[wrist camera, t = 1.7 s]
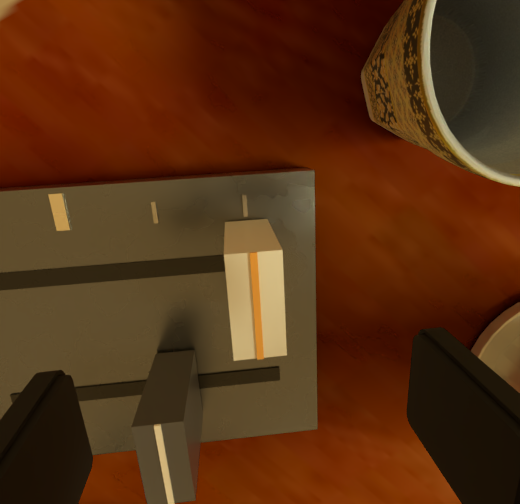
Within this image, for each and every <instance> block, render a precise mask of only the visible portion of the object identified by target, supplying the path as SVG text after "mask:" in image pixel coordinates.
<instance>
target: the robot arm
mask: <svg viewBox="0 0 520 504" xmlns="http://www.w3.org/2000/svg"><path fill="white" fill-rule="evenodd" d="M407 418H408V421H409V424H410V425H411V427H412V429H413V430H414V432H415V433H416V435H417V436H418V438H419V439H420V441H421V442H422V444H423V445H424V447H425V448H426V450H427V451H428V453H429V454H430V456H431V457H432V459H433V461H434V462H435V464H436V465H437V467H438V468H439V470H440V471H441V473H442V474H443V476H444V477H445V479H446V480H447V482H448V483H449V485H450V486H451V488H452V489H453V491H454V492H455V494H456V495H457V497H458V498H459V500H460V501H461V503H462V504H520V302H518V303H516V304H515V305H513V306H512V307H510V308H509V309H507V310H506V311H504V312H503V313H502V314H500V315H499V316H498V317H497V318H496V319H495V320H494V321H492V322H491V323H490V324H489V326H488V327H487V328H486V329H485V330H484V331H483V333H482V334H481V335H480V336H479V338H478V340H477V341H476V343H475V344H474V346H473V348H472V349H471V351H470V350H469V349H468V348H466V347H465V346H464V345H463V344H462V343H461V342H459V341H458V340H457V339H456V338H455V337H454V336H452V335H451V334H450V333H449V332H448V331H447V330H445V329H444V328H441V327H439V328H430V329H422V330H420V331H419V333H418V335H416V336H414V338H413V347H412V358H411V369H410V380H409V391H408V403H407ZM92 461H93V455H92V450H91V446H90V443H89V439H88V435H87V431H86V428H85V424H84V420H83V416H82V413H81V409H80V405H79V401H78V397H77V394H76V390H75V386H74V382H73V379H72V377H71V375H65V373H64V371H62V370H55V371H46V372H39V373H36V374H35V375H34V376H33V377H32V379H31V380H30V381H29V383H28V384H27V385H26V387H25V388H24V389H23V391H22V392H21V393H20V395H19V396H18V397H17V398H16V400H15V401H14V402H13V404H12V405H11V406H10V408H9V409H8V410H7V412H6V413H5V414H4V415H3V417H2V418H1V419H0V504H78V502H79V500H80V497H81V494H82V492H83V489H84V487H85V484H86V481H87V479H88V476H89V473H90V471H91V468H92Z"/></svg>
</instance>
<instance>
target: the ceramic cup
mask: <svg viewBox="0 0 520 504" xmlns="http://www.w3.org/2000/svg"><path fill="white" fill-rule="evenodd" d="M361 81H362V86H363V90H364V95H365V100H366V104H367V109H368V113H369V117H370V118H371V120H372V121H373V122H375V123H377V124H378V125H380V126H382V127H383V128H385V129H387V130H389V131H390V132H392V133H394V134H396V135H397V136H399V137H401V138H402V139H404V140H406V141H408V142H411V143H413V144H415V145H418V146H421V147H423V148H425V149H428V150H429V151H431V152H432V153H434V154H435V155H437V156H439V157H440V158H442V159H444V160H446V161H448V162H450V163H452V164H454V165H456V166H458V167H460V168H462V169H465V170H467V171H469V172H471V173H474V174H477V175H479V176H482V177H484V178H487V179H490V180H493V181H496V182H499V183H503V184H507V185H512V186H518V187H520V0H404V1H403V2H402V4H401V5H400V6H399V8H398V9H397V11H396V12H395V13H394V14H393V16H392V17H391V18H390V20H389V21H388V23H387V24H386V26H385V27H384V29H383V31H382V33H381V35H380V36H379V38H378V40H377V42H376V44H375V46H374V48H373V50H372V52H371V54H370V56H369V58H368V60H367V62H366V64H365V65H364V67H363V69H362V71H361Z"/></svg>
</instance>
